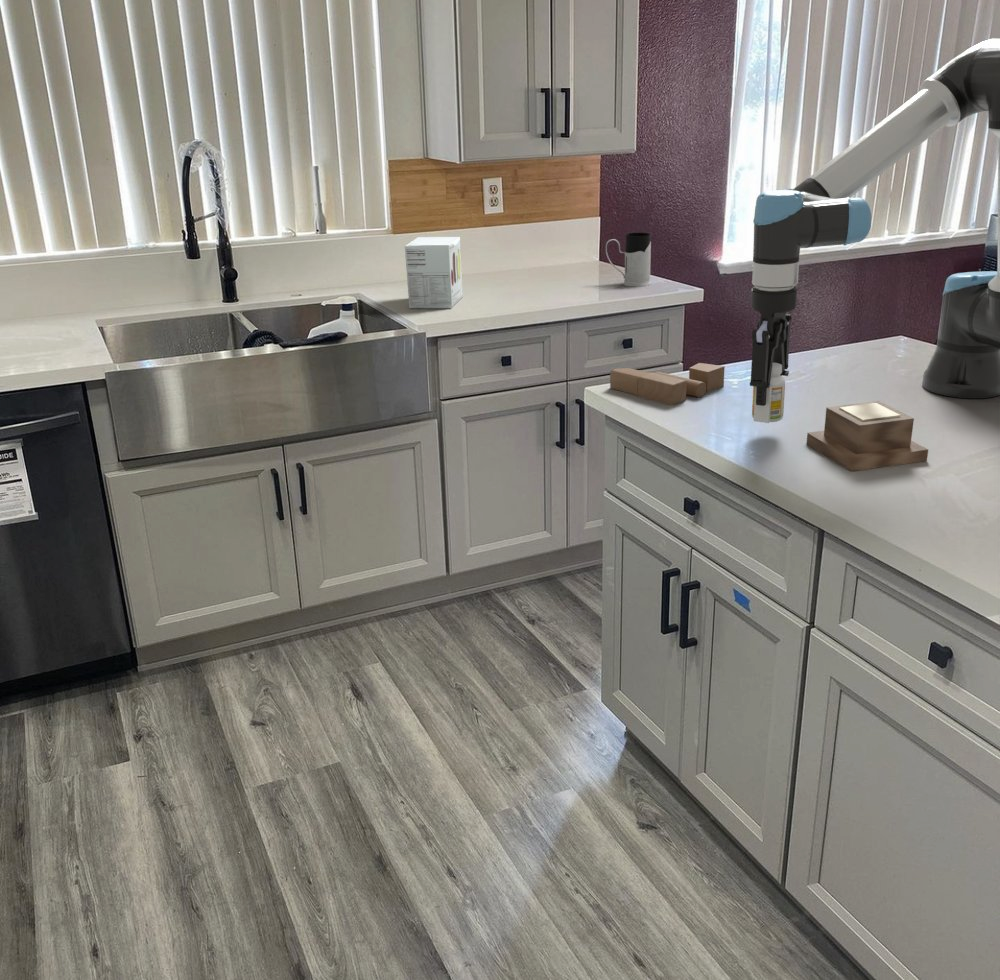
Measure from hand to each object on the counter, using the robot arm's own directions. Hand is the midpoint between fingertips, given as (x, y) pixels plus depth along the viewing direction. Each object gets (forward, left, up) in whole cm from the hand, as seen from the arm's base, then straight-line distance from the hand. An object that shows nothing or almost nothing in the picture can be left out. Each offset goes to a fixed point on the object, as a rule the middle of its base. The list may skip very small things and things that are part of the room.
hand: (767, 416), depth 177 cm
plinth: (-12, +13, -4) cm, 18 cm away
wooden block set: (+5, -33, -4) cm, 34 cm away
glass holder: (-27, -139, -4) cm, 142 cm away
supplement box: (+34, -137, -4) cm, 141 cm away
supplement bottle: (0, 0, -1) cm, 1 cm away
